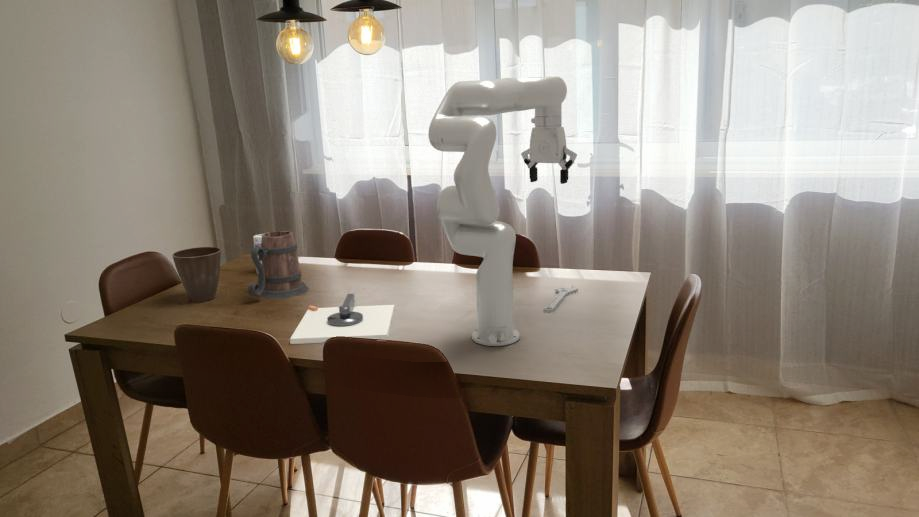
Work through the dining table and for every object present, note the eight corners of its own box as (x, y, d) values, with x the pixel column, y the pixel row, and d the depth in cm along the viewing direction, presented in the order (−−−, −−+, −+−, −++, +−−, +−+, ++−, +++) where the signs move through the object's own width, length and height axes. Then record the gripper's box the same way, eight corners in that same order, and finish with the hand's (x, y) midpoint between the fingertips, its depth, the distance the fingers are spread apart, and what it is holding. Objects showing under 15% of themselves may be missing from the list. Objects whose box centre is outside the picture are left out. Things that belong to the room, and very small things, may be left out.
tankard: (280, 282, 248) (274, 227, 243) (318, 286, 241) (313, 229, 236) (232, 301, 228) (225, 241, 223) (273, 307, 221) (266, 245, 216)
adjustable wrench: (551, 315, 204) (551, 309, 204) (531, 313, 207) (531, 307, 207) (579, 291, 226) (579, 285, 225) (560, 289, 229) (560, 283, 228)
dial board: (387, 340, 188) (386, 331, 188) (290, 344, 188) (289, 335, 187) (395, 304, 218) (395, 297, 217) (311, 308, 218) (311, 300, 217)
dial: (360, 325, 196) (359, 311, 195) (324, 327, 195) (323, 313, 194) (368, 304, 214) (367, 291, 213) (335, 305, 214) (334, 293, 213)
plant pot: (170, 300, 232) (164, 253, 228) (212, 289, 243) (206, 244, 239) (192, 308, 222) (185, 259, 218) (235, 297, 233) (229, 250, 229)
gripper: (515, 123, 201) (516, 182, 205) (570, 123, 192) (570, 185, 196) (527, 121, 207) (528, 179, 211) (581, 121, 198) (581, 182, 202)
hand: (548, 182), depth 204 cm, fingers open, 9 cm apart
